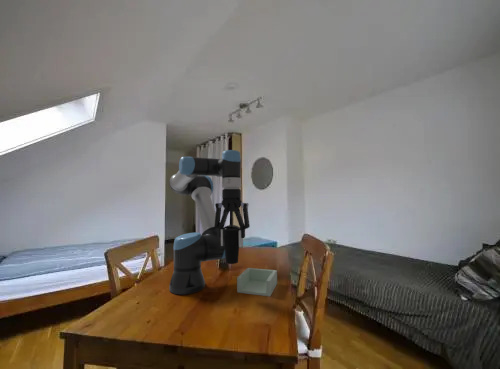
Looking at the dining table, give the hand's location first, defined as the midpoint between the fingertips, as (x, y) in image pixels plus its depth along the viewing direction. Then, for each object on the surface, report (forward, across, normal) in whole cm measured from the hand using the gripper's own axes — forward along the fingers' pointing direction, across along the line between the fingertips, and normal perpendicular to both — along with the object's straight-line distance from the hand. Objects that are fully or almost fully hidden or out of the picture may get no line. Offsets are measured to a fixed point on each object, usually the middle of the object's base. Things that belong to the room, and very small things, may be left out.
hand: (231, 245), depth 93 cm
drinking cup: (+7, 0, 0) cm, 7 cm away
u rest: (+20, +7, +12) cm, 25 cm away
